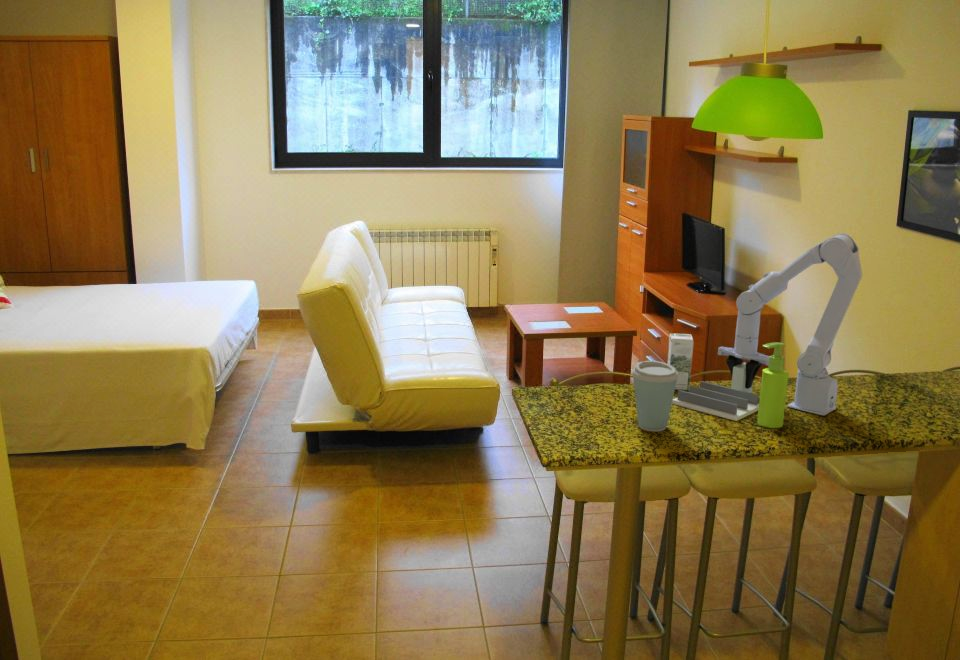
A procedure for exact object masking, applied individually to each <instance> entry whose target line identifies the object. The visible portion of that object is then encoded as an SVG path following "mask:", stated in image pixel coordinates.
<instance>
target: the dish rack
mask: <svg viewBox="0 0 960 660" xmlns="http://www.w3.org/2000/svg"><path fill="white" fill-rule="evenodd" d="M759 397H760V394H756V393H753V392H752V393H749V392H745V391H741V390H736V389H732V388H731V387H728V386H724V385H719V384H716V383H711V382H707V381H703V380H701V381H700V382H699V387H698V386H695V385H691V384H690V385H689V391H682V390H677V397H675V398H673V400H672V405H676V406H680V407H682V408H686V409H690V410H695V411H697V412H701V413H705V414H709V415H712V416H715V417H716V416H717V417H721V418H724V419H727V420H731V421H734V422H738V421H740V420H741V419H744V418H746V417H748V416H750V415H752V414H754V413H756V412H758V409H759Z"/></svg>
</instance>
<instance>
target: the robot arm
mask: <svg viewBox="0 0 960 660" xmlns="http://www.w3.org/2000/svg"><path fill="white" fill-rule="evenodd" d="M859 253H860V252H859V246H858V245H857V243H856V242H855V240H854V239H853V237H852V236H850V235H849V234H846V233H837V234H834V235H833V236H832V237H829V238H826V239H825V240H824V241H822V242H820V243H818V244H817V245H815V246H812V247H811V248H809V249H807V250H806V251H805V252H804V253H802V254H801V255H800V256H798V257H797V258H796V259H795V260H793V261H792V262H791V263H790V264H787V266H785V268H783V269H782V270H780V271H775V270H772V271H770V272H769V271H767V272H765V273H764V274H763V275H762V277H763V278H761V279H760V280H758V281H757V282H755V284H750V285H748V290H746V291H743V292H741V293H740V294H739V295H738V296H737V298H736V302H735V305H736V309H737V310H738V311H737V318H736V328H735V336H734V339H735V340H734V347H728V346H719V347H718V348H717V355H718V356H727V358H726V360H725V363H726V365H727V367H728V369H729V372H730V376H731V377H732V375H733V367H734V366H736V365H739V364H741V363H743V361H744V360H745V361H748V362H745V363H746V364H745V365H746V383H745V388H747V389H748V388H751V386H752V383H754V380H755V378H756V375H757V373H759V370H760V369H761V367H762V366H763V365H765V366H767V367H769V358H770V356H771V355H767V354H766V355H765V354H764V353H760V352H758V345H759V335H760V326H761V312H762V311H761V310H762V309H763V308H764V306H765V305H767V304H768V303H770V302H771V301H773V300H774V299H775V298H777V297H778V296H779V295H781V294H782V293H783V292H785V291H786V290H787V289H788V285H789V281H791V280H792V279H793V278H796V277H797V276H798V275H799V274H801V273H802V272H804V271H805V270H807V269H808V268H810V267H811V266H813V265H815V264H816V265H819V264H823V263H826V264H827V265H829V266H830V267H831V268H832V269H833V271H834V273H835V274H836V276H837V280H836V281H837V282H836V284H835V285H834V289H833V290H832V292H831V294H830V297H829V299H828V302H827V304H826V307H825V309H824V311H823V314H822V315H821V318H820V320H819V323H818V325H817V327H816V330H815V332H814V334H813V336H812V338H811V340H810V341H809V343H808V345H807V347H806V349H805V351H804V352H803V353H801V354H799V356H798V358H797V361H796V366H797V375H796V384H795V393H794V400H793V401H792V402H790V403H789V404H787V408H791V409H795V410H800V411H803V412H807V413H811V414H815V415H819V416H826V415H828V414H829V413H832V412H833V411H834V410H836V409H837V407H836V404H837V403H836V402H837V394H838V385H839V384H838V380H837V379H836V378H835V377H834V378H833V377H830V375H829V372H828V369H827V367H828V366H829V365H830V363H831V361H832V348H833V346H834V341H835V338H836V337H837V334H838V332H839V330H840V327H841V325H842V323H843V321H844V318H845V317H846V314H847V311H848V310H849V307H850V305H851V303H852V301H853V298H854V295H855V293H856V292H857V289H858V287H859V284H860V282H861V280H862V278H863V270H862V266H861V260H860V256H859V255H860V254H859ZM752 387H753V386H752Z"/></svg>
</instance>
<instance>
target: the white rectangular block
mask: <svg viewBox="0 0 960 660" xmlns="http://www.w3.org/2000/svg"><path fill="white" fill-rule="evenodd" d="M746 363H747V362H742V363H741V364H739V365H736V366H734V367H733V375H732V376H731V387H730V388H732V389H736V390H741V391H745V392H749V393H753V383H754V382H753V383H752V386H751V388H748V389H747V388H745V383H746V365H745V364H746Z"/></svg>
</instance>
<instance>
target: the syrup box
mask: <svg viewBox="0 0 960 660" xmlns="http://www.w3.org/2000/svg"><path fill="white" fill-rule="evenodd" d="M667 351H668V352H667V353H668V354H667V361H666V362H667V363H666V364H669V365H671V366H672V367H674V368H675V369H676V371H677V372H678V379H677V381H676V386H675V391H678V390H682V391H686V392H689V386H690V385H691V384H690V383H691V373H692V364H693V351H694V339H693V336H692V334H691V333H690V334H689V333H669V337H668V350H667Z"/></svg>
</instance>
